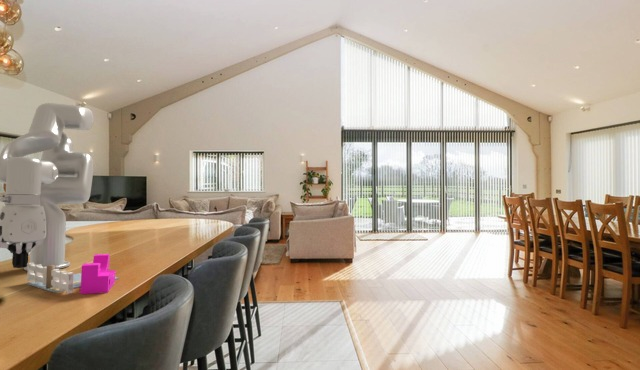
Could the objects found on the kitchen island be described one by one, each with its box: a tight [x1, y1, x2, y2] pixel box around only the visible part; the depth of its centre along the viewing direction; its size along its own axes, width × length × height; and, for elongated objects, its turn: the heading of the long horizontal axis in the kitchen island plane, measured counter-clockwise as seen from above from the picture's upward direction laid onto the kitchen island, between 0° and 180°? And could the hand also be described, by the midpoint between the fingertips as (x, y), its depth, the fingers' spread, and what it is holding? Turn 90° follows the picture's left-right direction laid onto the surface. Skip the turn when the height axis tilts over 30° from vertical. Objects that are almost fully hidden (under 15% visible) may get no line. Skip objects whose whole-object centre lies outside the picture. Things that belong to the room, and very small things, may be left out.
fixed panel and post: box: [46, 265, 74, 294], centre depth 95 cm, size 11×2×6 cm, turn 61°
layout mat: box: [25, 272, 120, 294], centre depth 105 cm, size 16×18×1 cm
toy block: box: [79, 253, 116, 295], centre depth 100 cm, size 15×6×8 cm, turn 21°
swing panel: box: [26, 262, 47, 286], centre depth 100 cm, size 10×1×5 cm, turn 61°
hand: (19, 267), depth 97 cm, fingers closed
